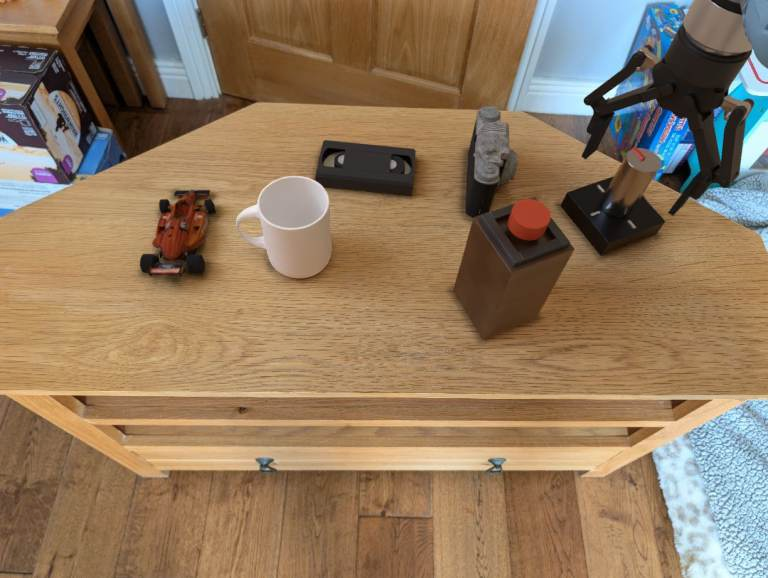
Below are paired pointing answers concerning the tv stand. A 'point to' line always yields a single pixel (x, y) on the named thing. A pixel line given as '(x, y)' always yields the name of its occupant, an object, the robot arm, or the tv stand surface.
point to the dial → (630, 182)
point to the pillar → (508, 272)
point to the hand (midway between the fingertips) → (630, 180)
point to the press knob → (529, 219)
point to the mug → (292, 225)
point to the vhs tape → (366, 167)
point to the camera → (488, 161)
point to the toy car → (179, 235)
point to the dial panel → (609, 219)
